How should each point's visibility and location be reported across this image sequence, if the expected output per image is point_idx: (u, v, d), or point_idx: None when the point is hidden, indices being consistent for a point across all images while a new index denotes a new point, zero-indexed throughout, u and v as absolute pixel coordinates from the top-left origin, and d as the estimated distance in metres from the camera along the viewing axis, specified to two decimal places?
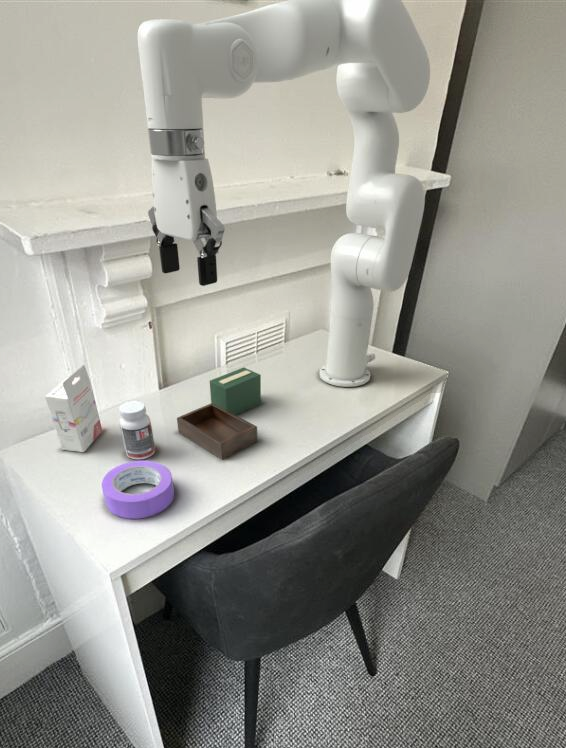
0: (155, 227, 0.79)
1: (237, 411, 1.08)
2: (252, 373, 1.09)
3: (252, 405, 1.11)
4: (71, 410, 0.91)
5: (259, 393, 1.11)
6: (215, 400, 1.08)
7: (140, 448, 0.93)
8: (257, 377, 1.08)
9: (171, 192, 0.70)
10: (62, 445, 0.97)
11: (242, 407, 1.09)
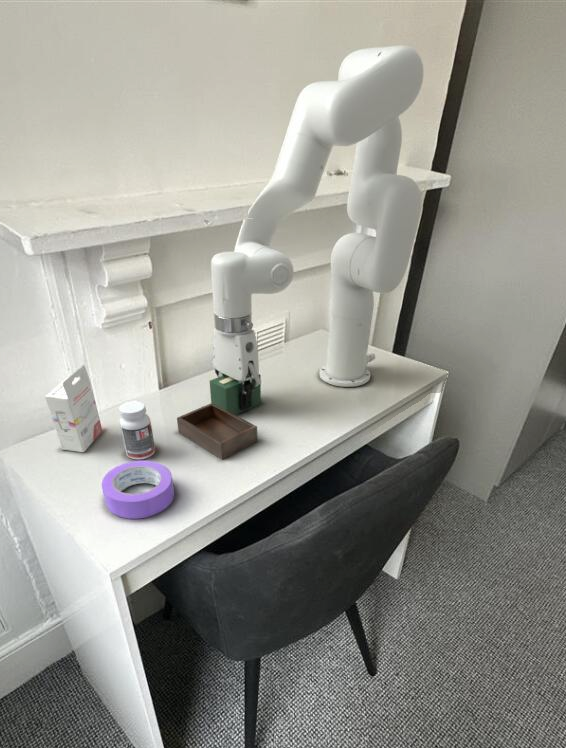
0: (217, 370, 1.09)
1: (237, 411, 1.08)
2: None
3: (252, 405, 1.11)
4: (71, 410, 0.91)
5: (259, 393, 1.11)
6: (215, 400, 1.08)
7: (140, 448, 0.93)
8: None
9: (228, 351, 1.01)
10: (62, 445, 0.97)
11: None
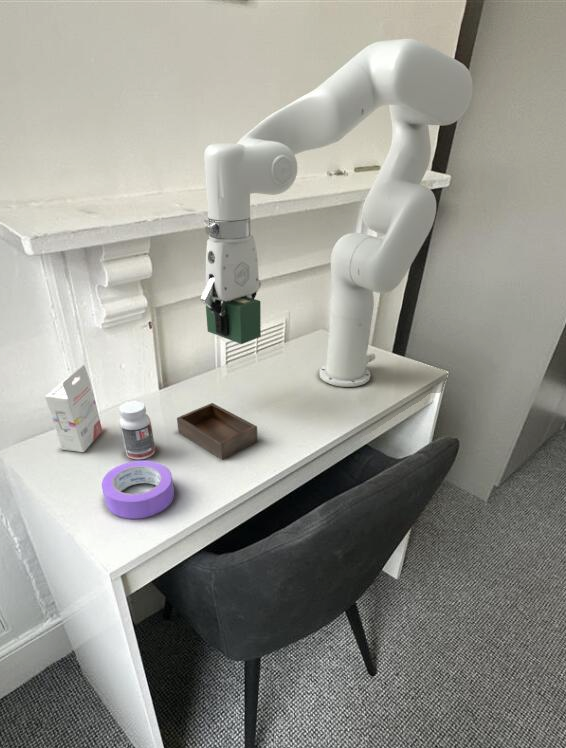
0: None
1: None
2: (243, 304, 0.94)
3: (231, 338, 0.98)
4: (71, 410, 0.91)
5: (239, 330, 0.95)
6: None
7: (140, 448, 0.93)
8: (236, 308, 0.93)
9: None
10: (62, 445, 0.97)
11: None
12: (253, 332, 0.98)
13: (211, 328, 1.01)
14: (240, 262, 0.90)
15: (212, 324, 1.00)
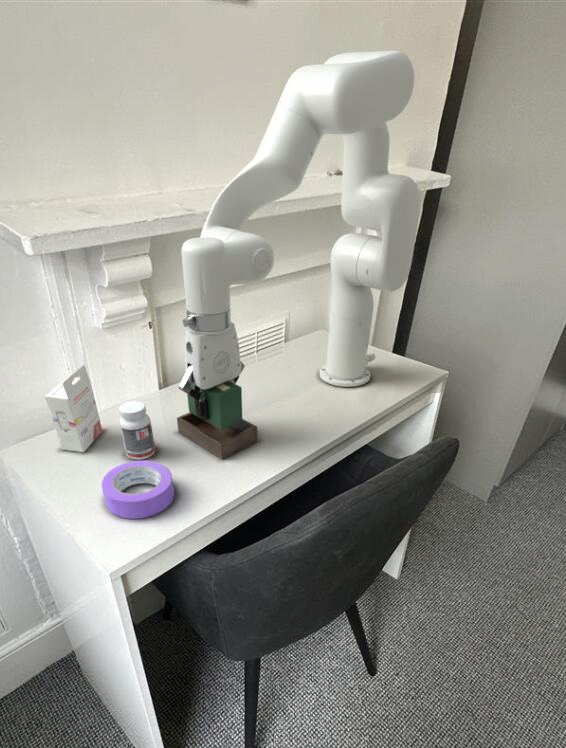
0: None
1: None
2: (223, 391, 0.91)
3: (211, 422, 0.95)
4: (71, 410, 0.91)
5: (219, 416, 0.93)
6: None
7: (140, 448, 0.93)
8: (215, 396, 0.90)
9: None
10: (62, 445, 0.97)
11: None
12: (234, 417, 0.95)
13: (192, 409, 0.98)
14: (220, 351, 0.88)
15: (193, 406, 0.97)
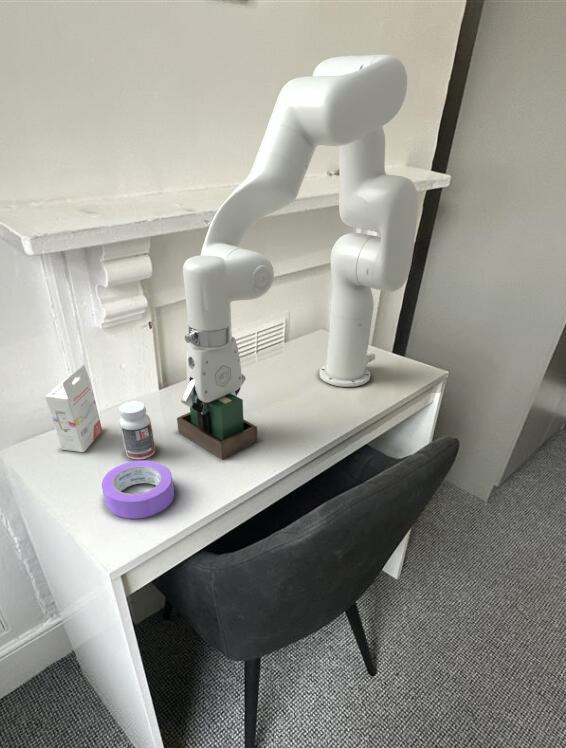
0: None
1: None
2: (224, 404, 0.93)
3: (213, 434, 0.97)
4: (71, 410, 0.91)
5: (220, 428, 0.94)
6: None
7: (140, 448, 0.93)
8: (217, 409, 0.92)
9: None
10: (62, 445, 0.97)
11: None
12: (236, 429, 0.97)
13: (194, 421, 1.00)
14: (221, 365, 0.89)
15: (195, 417, 0.99)
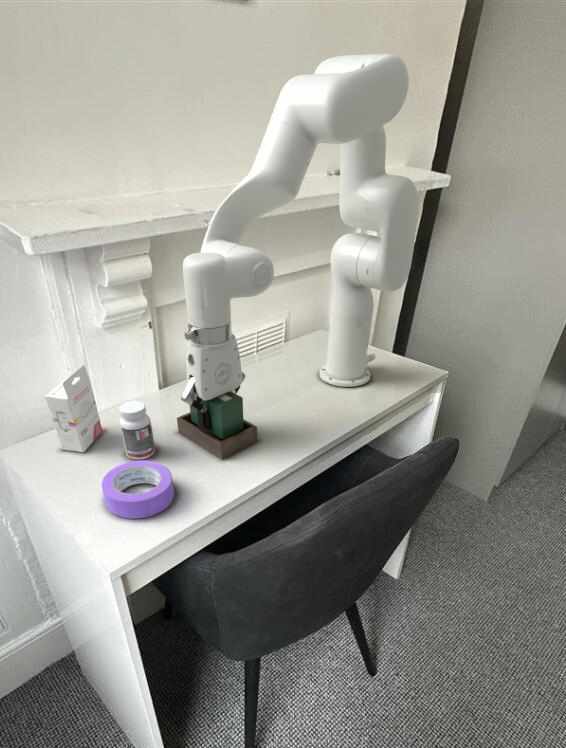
0: None
1: None
2: (224, 402, 0.93)
3: (213, 432, 0.97)
4: (71, 410, 0.91)
5: (220, 426, 0.94)
6: None
7: (140, 448, 0.93)
8: (217, 406, 0.92)
9: None
10: (62, 445, 0.97)
11: None
12: (236, 427, 0.97)
13: (194, 419, 1.00)
14: (221, 363, 0.89)
15: (195, 415, 0.99)
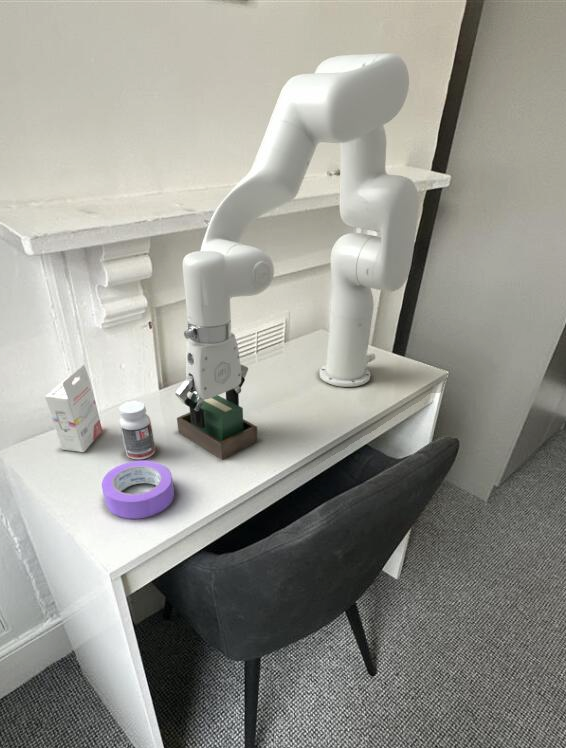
0: None
1: None
2: (225, 413, 0.94)
3: None
4: (71, 410, 0.91)
5: (221, 436, 0.95)
6: None
7: (140, 448, 0.93)
8: (217, 417, 0.93)
9: None
10: (62, 445, 0.97)
11: None
12: None
13: None
14: (220, 362, 0.89)
15: None
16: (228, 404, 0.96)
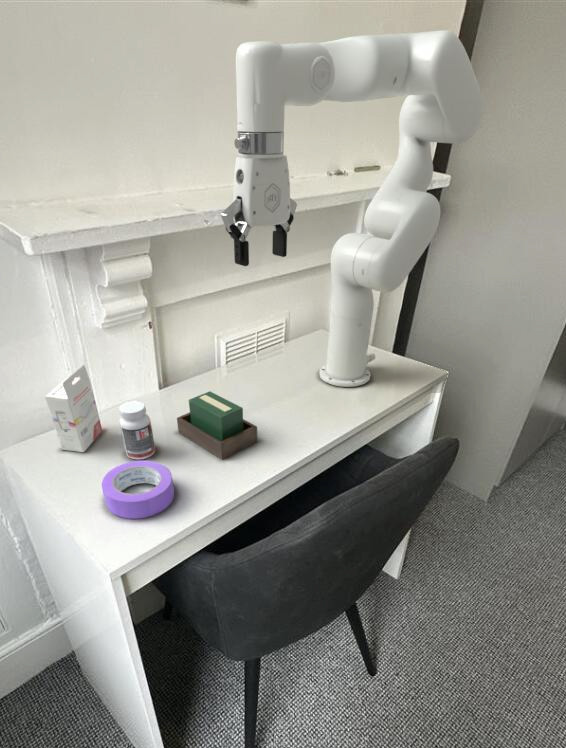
0: None
1: None
2: (225, 413, 0.94)
3: None
4: (71, 410, 0.91)
5: (221, 436, 0.95)
6: None
7: (140, 448, 0.93)
8: (217, 417, 0.93)
9: None
10: (62, 445, 0.97)
11: None
12: None
13: None
14: (271, 183, 0.83)
15: (196, 425, 1.00)
16: (228, 404, 0.96)
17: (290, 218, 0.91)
